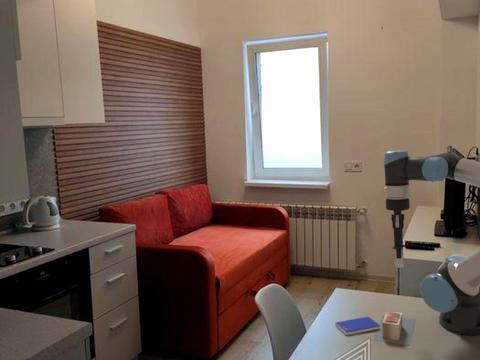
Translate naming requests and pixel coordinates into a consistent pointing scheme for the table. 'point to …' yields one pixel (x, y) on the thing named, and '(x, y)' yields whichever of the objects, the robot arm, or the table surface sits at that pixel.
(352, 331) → the hard drive
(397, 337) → the birch block
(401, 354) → the table surface
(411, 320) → the slate mat
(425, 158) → the robot arm
